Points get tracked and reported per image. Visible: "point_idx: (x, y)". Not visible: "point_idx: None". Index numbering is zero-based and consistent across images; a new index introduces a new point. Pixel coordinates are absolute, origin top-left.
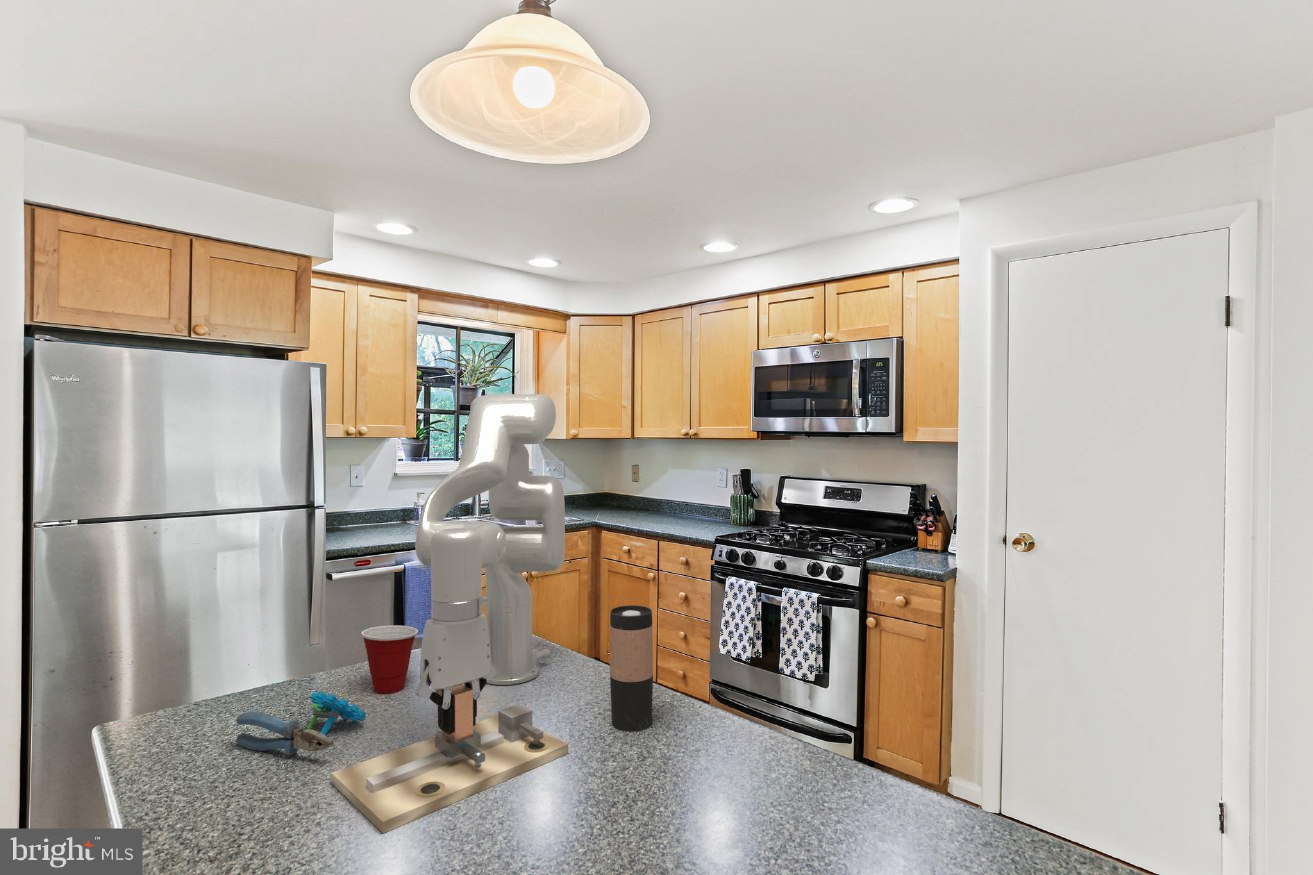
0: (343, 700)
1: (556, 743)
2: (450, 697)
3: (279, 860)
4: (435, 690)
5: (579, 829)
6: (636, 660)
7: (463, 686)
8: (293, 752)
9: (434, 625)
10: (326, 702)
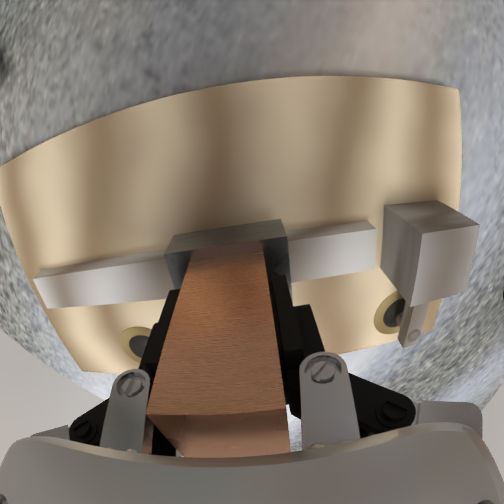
0: None
1: (425, 319)
2: (180, 455)
3: (4, 328)
4: (105, 434)
5: (297, 438)
6: None
7: (276, 441)
8: None
9: None
10: None
